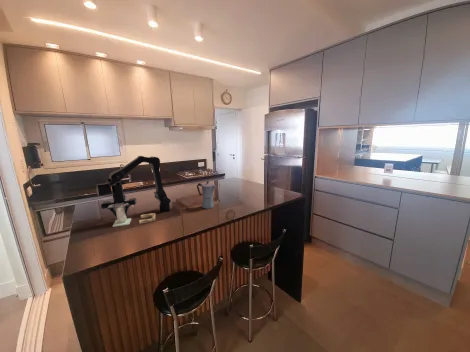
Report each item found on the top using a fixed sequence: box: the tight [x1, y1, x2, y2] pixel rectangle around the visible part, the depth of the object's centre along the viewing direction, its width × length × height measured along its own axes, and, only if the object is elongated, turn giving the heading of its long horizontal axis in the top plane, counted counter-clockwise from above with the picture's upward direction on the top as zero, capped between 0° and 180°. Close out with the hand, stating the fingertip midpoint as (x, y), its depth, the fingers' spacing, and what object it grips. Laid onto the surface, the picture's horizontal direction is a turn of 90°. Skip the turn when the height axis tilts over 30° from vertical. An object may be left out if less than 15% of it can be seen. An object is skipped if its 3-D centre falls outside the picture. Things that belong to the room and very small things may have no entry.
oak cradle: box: [138, 212, 156, 224], centre depth 132 cm, size 9×11×2 cm
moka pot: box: [196, 180, 217, 210], centre depth 149 cm, size 10×15×20 cm, turn 78°
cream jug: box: [115, 205, 128, 222], centre depth 127 cm, size 8×5×9 cm
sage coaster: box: [112, 218, 132, 228], centre depth 127 cm, size 9×9×1 cm
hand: (121, 216), depth 127 cm, fingers closed on cream jug, 5 cm apart
